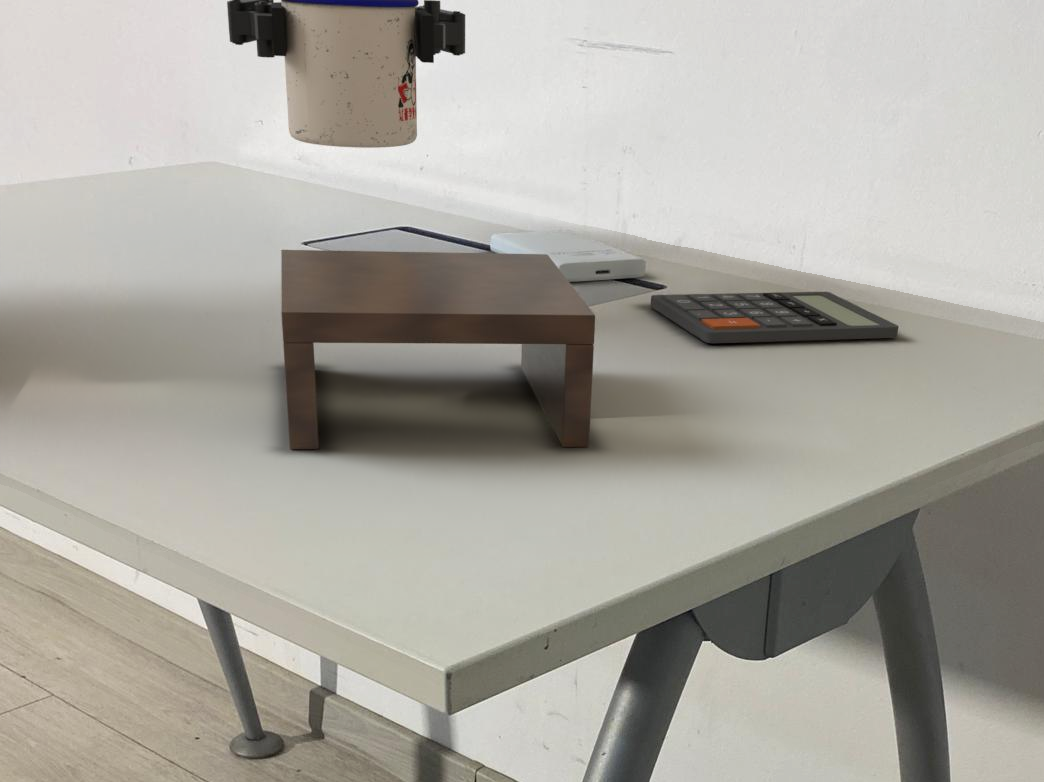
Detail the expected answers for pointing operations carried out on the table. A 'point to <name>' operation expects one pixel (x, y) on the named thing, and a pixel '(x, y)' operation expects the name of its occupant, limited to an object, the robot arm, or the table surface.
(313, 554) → the table surface
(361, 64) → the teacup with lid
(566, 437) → the shelf
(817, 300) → the calculator
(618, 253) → the hard drive
